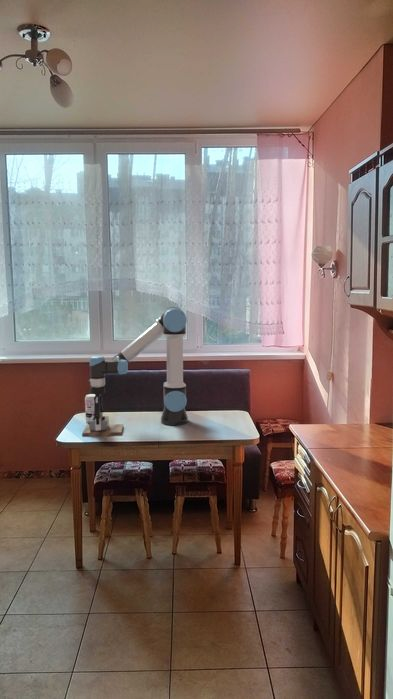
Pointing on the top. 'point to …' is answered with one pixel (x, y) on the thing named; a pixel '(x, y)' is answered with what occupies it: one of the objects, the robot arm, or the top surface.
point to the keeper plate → (112, 430)
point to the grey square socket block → (103, 423)
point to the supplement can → (89, 406)
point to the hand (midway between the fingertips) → (99, 427)
